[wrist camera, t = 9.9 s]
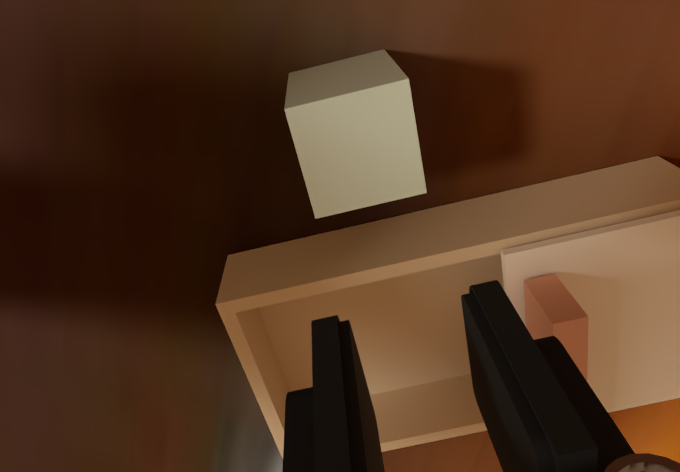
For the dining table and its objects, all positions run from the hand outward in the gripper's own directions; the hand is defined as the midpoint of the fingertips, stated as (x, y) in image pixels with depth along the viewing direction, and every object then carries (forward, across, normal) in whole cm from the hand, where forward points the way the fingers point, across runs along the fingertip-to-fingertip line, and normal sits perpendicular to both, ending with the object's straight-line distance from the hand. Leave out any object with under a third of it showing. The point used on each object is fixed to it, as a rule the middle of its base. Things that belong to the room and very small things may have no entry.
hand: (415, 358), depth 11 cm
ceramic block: (+19, 0, 0) cm, 19 cm away
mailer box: (+19, -4, +14) cm, 24 cm away
